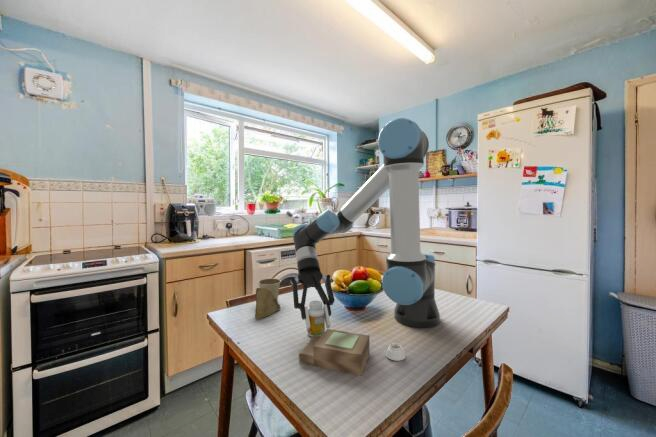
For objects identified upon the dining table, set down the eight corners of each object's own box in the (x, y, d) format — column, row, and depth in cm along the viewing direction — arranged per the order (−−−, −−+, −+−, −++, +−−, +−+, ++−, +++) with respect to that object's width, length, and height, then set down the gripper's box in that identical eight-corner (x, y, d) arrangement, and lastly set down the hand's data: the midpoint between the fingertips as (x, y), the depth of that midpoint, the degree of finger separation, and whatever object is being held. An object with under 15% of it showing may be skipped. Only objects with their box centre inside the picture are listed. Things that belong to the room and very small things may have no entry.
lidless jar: (383, 359, 71) (403, 364, 69) (383, 348, 71) (403, 352, 69) (388, 350, 76) (406, 354, 73) (388, 339, 75) (406, 343, 73)
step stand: (369, 353, 73) (369, 334, 73) (360, 375, 64) (360, 353, 64) (314, 343, 79) (314, 325, 79) (299, 362, 70) (298, 342, 69)
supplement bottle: (305, 331, 87) (305, 301, 86) (321, 328, 89) (321, 298, 88) (310, 338, 82) (309, 306, 81) (327, 335, 84) (326, 304, 83)
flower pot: (286, 300, 115) (285, 280, 115) (270, 307, 107) (269, 285, 107) (269, 296, 120) (269, 277, 120) (253, 303, 112) (253, 282, 112)
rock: (278, 299, 109) (253, 299, 106) (283, 286, 105) (256, 285, 101) (280, 324, 101) (253, 325, 98) (285, 311, 97) (256, 311, 93)
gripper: (330, 266, 102) (345, 329, 87) (280, 270, 97) (286, 336, 82) (334, 254, 96) (350, 319, 81) (282, 257, 92) (288, 326, 76)
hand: (318, 327), depth 82 cm, fingers closed on supplement bottle, 5 cm apart
